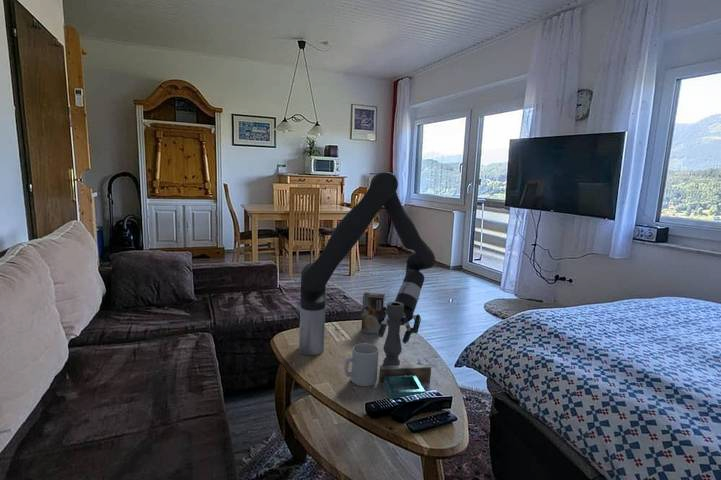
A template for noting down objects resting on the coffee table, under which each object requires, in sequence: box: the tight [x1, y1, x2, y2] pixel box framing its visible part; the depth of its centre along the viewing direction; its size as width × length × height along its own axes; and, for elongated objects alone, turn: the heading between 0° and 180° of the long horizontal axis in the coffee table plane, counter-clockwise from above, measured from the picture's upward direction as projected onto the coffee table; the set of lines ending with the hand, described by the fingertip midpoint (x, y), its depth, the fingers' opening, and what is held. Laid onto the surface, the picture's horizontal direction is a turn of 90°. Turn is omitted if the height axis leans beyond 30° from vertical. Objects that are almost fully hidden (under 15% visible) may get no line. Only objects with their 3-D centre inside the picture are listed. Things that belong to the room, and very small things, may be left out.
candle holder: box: [381, 300, 404, 366], centre depth 136 cm, size 6×6×25 cm
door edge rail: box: [378, 363, 433, 385], centre depth 133 cm, size 17×2×5 cm, turn 100°
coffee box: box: [360, 292, 386, 335], centre depth 173 cm, size 9×6×16 cm
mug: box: [343, 342, 379, 387], centre depth 131 cm, size 12×8×11 cm
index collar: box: [382, 374, 426, 400], centre depth 126 cm, size 10×10×4 cm
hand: (392, 339), depth 135 cm, fingers open, 8 cm apart
